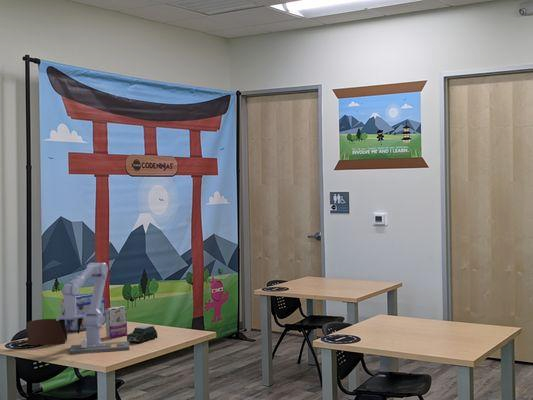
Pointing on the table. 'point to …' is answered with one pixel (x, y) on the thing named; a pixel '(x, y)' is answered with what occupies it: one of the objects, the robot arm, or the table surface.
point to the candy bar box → (116, 322)
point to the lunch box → (81, 310)
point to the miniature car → (142, 333)
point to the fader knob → (83, 343)
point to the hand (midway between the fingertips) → (71, 333)
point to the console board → (99, 347)
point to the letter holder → (45, 332)
